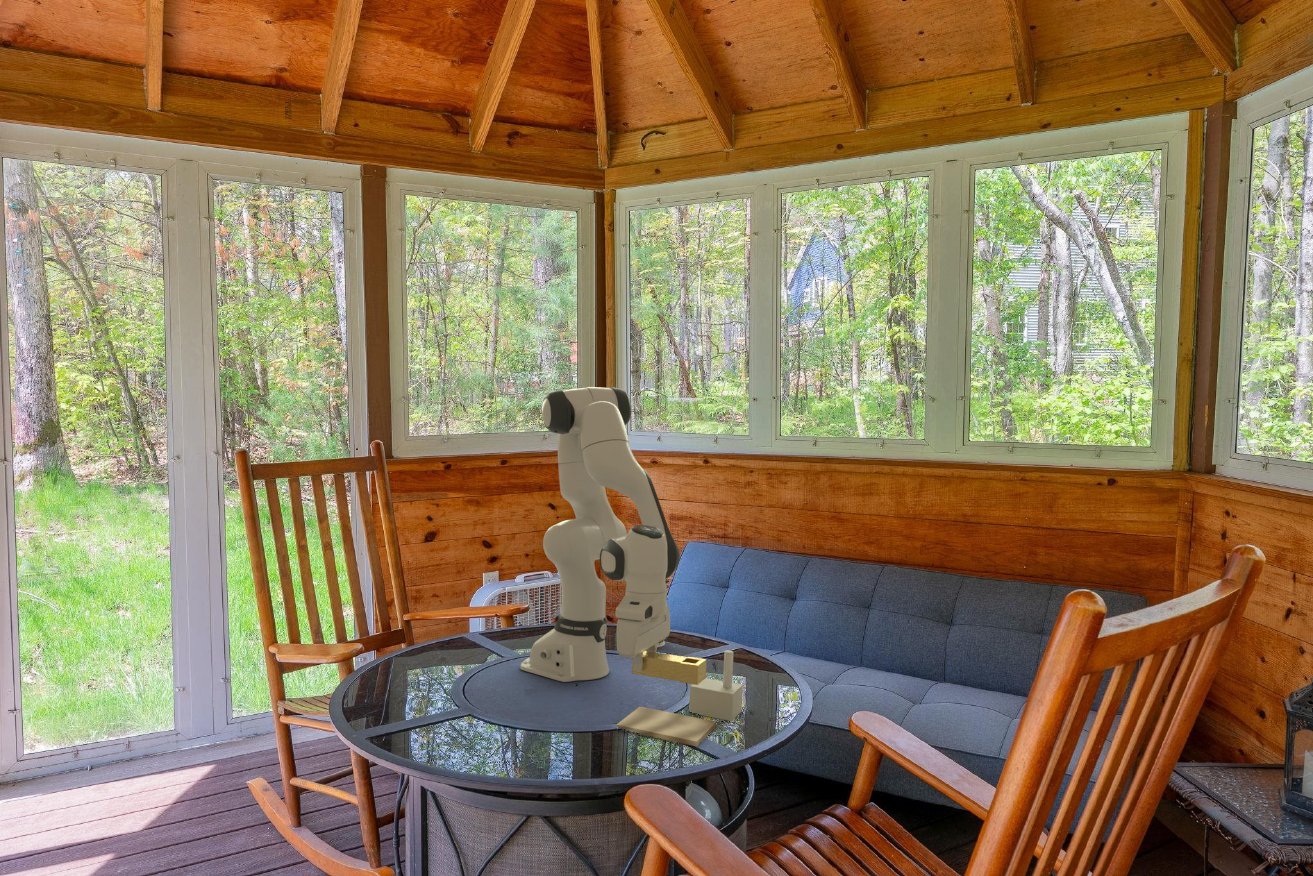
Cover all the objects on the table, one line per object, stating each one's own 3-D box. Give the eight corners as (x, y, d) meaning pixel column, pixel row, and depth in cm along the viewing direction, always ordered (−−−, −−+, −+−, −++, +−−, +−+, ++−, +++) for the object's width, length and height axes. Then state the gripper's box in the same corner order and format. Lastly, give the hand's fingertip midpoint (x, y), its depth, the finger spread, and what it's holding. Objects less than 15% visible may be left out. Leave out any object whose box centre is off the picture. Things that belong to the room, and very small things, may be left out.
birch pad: (616, 729, 178) (616, 724, 178) (639, 710, 189) (640, 706, 189) (696, 746, 171) (696, 741, 171) (716, 726, 182) (716, 721, 182)
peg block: (688, 712, 189) (691, 650, 189) (699, 702, 196) (702, 642, 195) (731, 721, 185) (734, 657, 185) (741, 710, 192) (744, 649, 191)
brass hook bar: (631, 674, 180) (631, 655, 180) (641, 668, 185) (641, 649, 184) (697, 685, 174) (698, 665, 174) (706, 678, 179) (706, 659, 179)
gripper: (651, 592, 192) (650, 653, 192) (611, 611, 173) (610, 678, 174) (677, 595, 189) (676, 656, 190) (639, 614, 171) (638, 683, 171)
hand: (644, 667), depth 182 cm, fingers closed on brass hook bar, 4 cm apart
